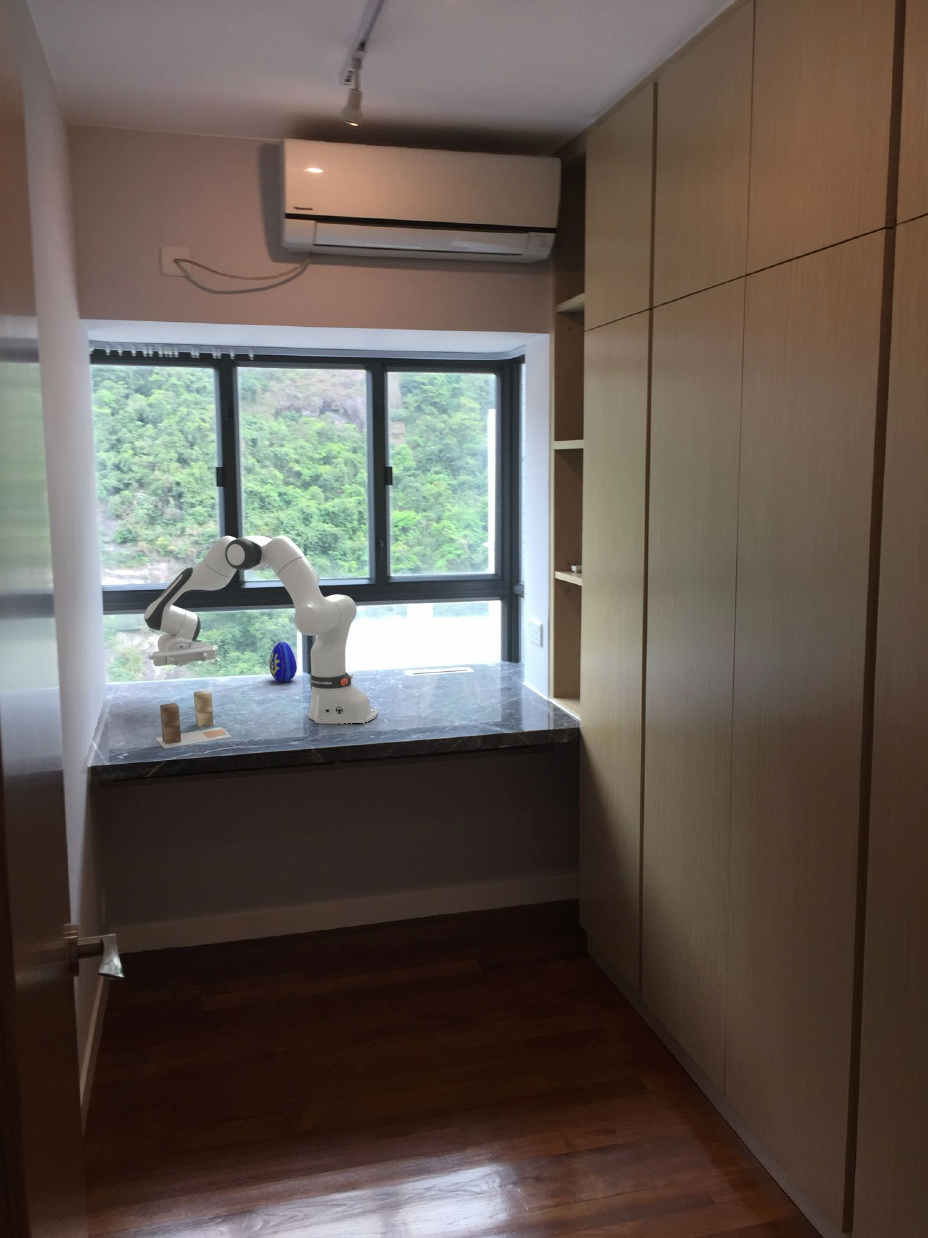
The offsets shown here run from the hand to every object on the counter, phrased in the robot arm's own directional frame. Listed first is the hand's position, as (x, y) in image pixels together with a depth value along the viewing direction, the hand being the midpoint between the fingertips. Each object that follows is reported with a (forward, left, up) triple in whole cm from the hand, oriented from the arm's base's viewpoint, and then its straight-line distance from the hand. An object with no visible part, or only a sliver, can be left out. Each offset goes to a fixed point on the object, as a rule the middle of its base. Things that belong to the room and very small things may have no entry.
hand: (190, 660), depth 305 cm
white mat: (-13, +20, -19) cm, 31 cm away
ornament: (-8, -48, -19) cm, 52 cm away
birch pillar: (-9, +8, -19) cm, 22 cm away
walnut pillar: (-9, +25, -18) cm, 32 cm away
